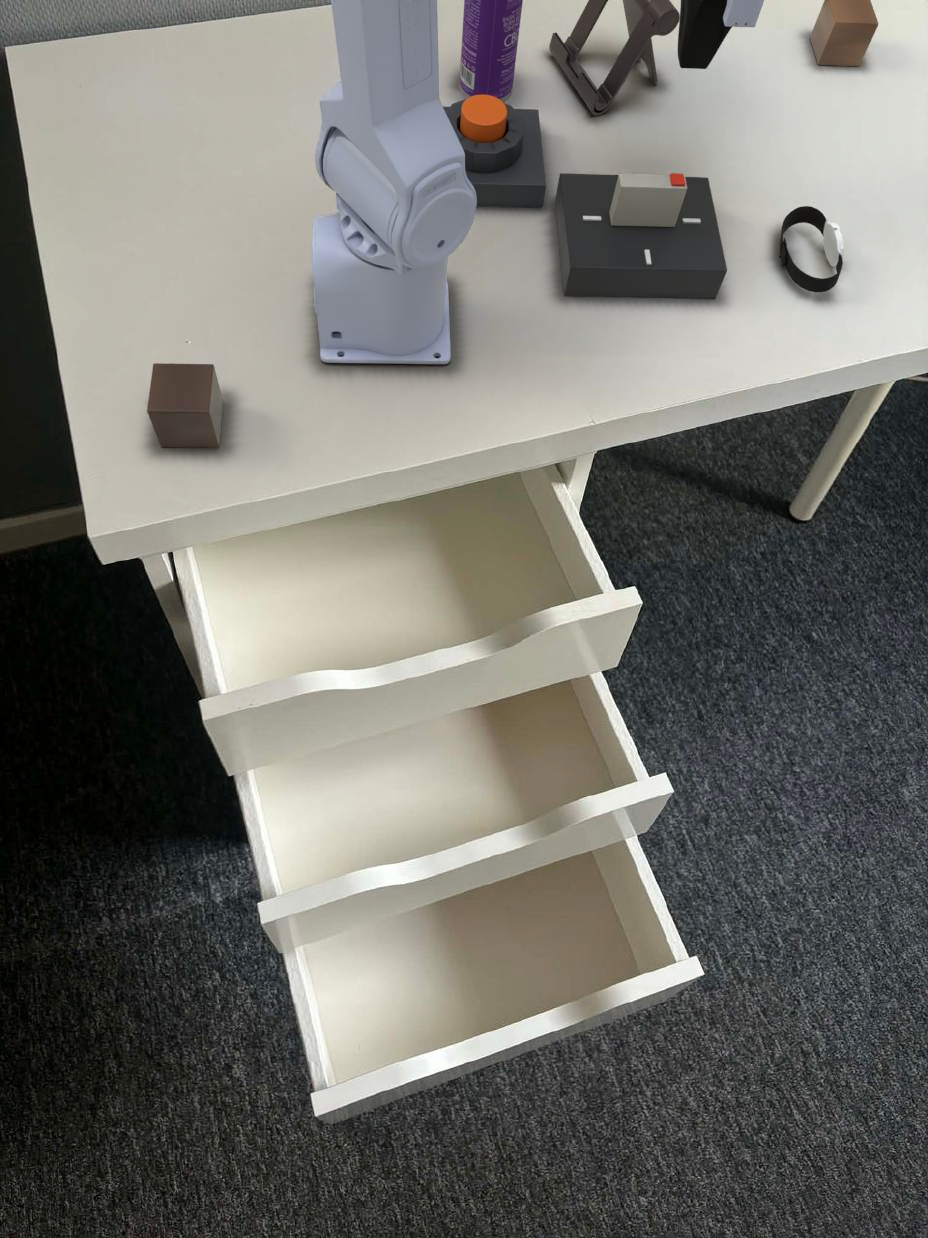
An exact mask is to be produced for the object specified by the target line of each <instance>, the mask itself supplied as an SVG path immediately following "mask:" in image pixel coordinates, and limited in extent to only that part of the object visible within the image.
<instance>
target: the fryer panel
mask: <svg viewBox="0 0 928 1238" xmlns="http://www.w3.org/2000/svg"><path fill="white" fill-rule="evenodd" d="M618 175H619V174H599V173H596V174H595V173H567V172H566V173H565V172H561V173H559V175H558V176H559V177H558V181H557V182H558V183H557V187H556V193H555V198H554V211H555V212H554V214H555V222H556V223H555V224H556V232H557V242H558V253H559V261H560V270H561V271H560V272H561V278H562V279H561V280H562V281H561V282H562V290H563V296H564V297H584V298H588V297H589V298H590V297H591V298H637V299H638V298H641V299H642V298H643V299H648V298H649V299H685V300H687V299H691V300H693V299H694V300H716V298H717V296H718V294H719V292H720V289H721V286H722V284H723V282H724V280H725V278H726V275H727V272H728V269H727V268H728V267H727V263H726V257H725V253H724V249H723V248H724V247H723V244H722V239H721V234H720V229H719V225H718V224H719V223H718V218H717V215H716V210H715V204H714V199H713V195H712V194H713V193H712V190H711V185H710V180H709V177H705V176H704V177H703V176H685V179H686V184H687V191H686V194H685V197H684V200H683V203H682V206H681V209H680V212H679V215H678V218H677V221H676V224H675V227H655V226H612V225H611V221H610V214H609V212H610V208H611V204H612V200H613V195H614V191H615V187H616V183H617V179H618Z"/></svg>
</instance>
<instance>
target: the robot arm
mask: <svg viewBox="0 0 928 1238" xmlns="http://www.w3.org/2000/svg"><path fill="white" fill-rule="evenodd" d="M764 2H765V0H680V8H679V9H680V11H679V15H680V19H679V22H678V34H677V59H678V64H679V67H680V68H681V69H695V70H706V69H707V68H708V67H709V66H710V64H711V63H712V61H713V59H714V57H715V56H716V54H717V52H718V51H719V49H720V48H721V46H722V44H723V42H724V41H725V39H726V37H727V35H728V34H729V32H730V31H731V30H732V29H733V27H734V28H756V25H757V23H758V20H759V17H760V14H761V11H762V8H763V6H764ZM330 3H331V11H332V18H333V19H332V20H333V27H334V34H335V43H336V50H337V51H336V52H337V58H338V66H339V73H340V81H339V82H337V83H336V84H334V85H333V86H332V87H331V88H330V89H329V90H328V91H327V92H326V93H325V94H324V95H323V96H322V97H321V98H320V100H319V108H320V115H321V117H320V119H321V124H320V132H319V135H318V139H317V142H316V147H315V153H314V158H315V159H314V164H315V170H316V172H317V175H318V177H319V178H320V180H321V181H322V182H323V184H325V186H327V187H328V188H329V189H331V190H332V191H333V192H335V199H336V200H335V202H336V209H337V212H334V213H329V214H326V215H318V216H313V220H312V233H311V250H312V251H311V252H312V253H311V258H312V259H311V260H312V279H313V309H314V313H315V314H316V319H317V329H318V340H319V348H320V349H319V356H320V357H319V358H320V360H321V361H322V362H324V363H328V364H329V363H332V364H335V363H336V364H394V365H395V364H397V365H398V364H401V365H402V364H403V365H404V364H405V365H446V364H449V363H450V362H451V359H452V357H451V356H452V354H451V353H452V352H451V351H452V349H451V327H450V325H451V324H450V323H451V322H450V304H449V303H450V302H449V301H450V300H449V299H450V297H449V283H448V281H447V276H448V260H449V256H451V255H452V254H453V253H454V252H455V251H456V250H457V249H458V248H459V247H460V245H462V243H463V242H464V240H465V239H466V238H467V236H468V234H469V232H470V230H471V227H472V225H473V223H474V219H475V216H476V213H477V207H478V206H477V196H476V192H475V189H474V187H473V185H472V184H471V182H470V181H469V180H468V178H467V176H466V171H465V153H464V150H463V148H462V146H461V144H460V141H459V139H458V137H457V135H456V133H455V131H454V129H453V127H452V125H451V123H450V121H449V119H448V117H447V115H446V113H445V111H444V108H443V104H442V102H441V99H440V71H439V69H440V68H439V26H438V25H439V24H438V23H439V21H438V0H330ZM437 357H438V358H437Z"/></svg>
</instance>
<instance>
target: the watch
mask: <svg viewBox="0 0 928 1238" xmlns="http://www.w3.org/2000/svg"><path fill="white" fill-rule="evenodd" d="M797 224H809V225H812V226H813V227H815V229H816V230H818V231H819V232H820V233H821V235H822V237H823V248H824V252H825V256H826V259H827V261H828V264H829V265H830V266H831V267H835V271H836V273H835V274H834V275H832V276H829V277H824V278H820V277H815V276H812V275H809V274H807V272H804V271H803V270H802V269H800V268H799V267H798V266H797V265H796V263H794V260H793V259H792V256H791V255H790V252H789V249H788V243H787V240H786V237H784V234H785V232H787V230H788V229H789V228H791V227H793V226H795V225H797ZM844 247H845V246H844V238H843V234H842V231H841V228H840V225H839V224H837V222H829V221H828V219H827V218H826V216H825V214H824V213H823V212H822V211H821V210H819V209H818V208H816V207H813V206H811V205H810V206H809V205H803V206H798V207H796V208H794V209H793V210H791V211H790V212H789V213H788V214H787V215H786V216H785V217H784V219H783V222H782V224H781V231H780V238H779V256H778V258H779V259H780V262H781V266H782V268H785V269H786V272H787V274H788V276H789V277H790V280H792V282H794V283H795V284H796V285H797V286H798V287H800V288H801V289H803V290H805V291H808V292H811V293H824V292H828V291H830V290H832V289H833V288H835V286H836V285H837V283H838V281H839V279H840V278H839V277H840V275H841V272H842V269H843V264H844V263H843V259H844V251H845V248H844Z"/></svg>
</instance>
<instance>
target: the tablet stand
mask: <svg viewBox="0 0 928 1238" xmlns="http://www.w3.org/2000/svg"><path fill="white" fill-rule="evenodd" d="M608 2H609V0H588V1H587V3H586V5H585V7H584V8H583V10H582V12H581V14H580V16H579V18H578V20H577V22H576V24H575V26H574V27H573V28H572V29H573V30H572V32H571V33H570V35H569V36H567V38H566V39H565V42H564V41H563V40H562V38H561V37H560V35H559V34H558V33H557V31H555V32H553V33H552V35H551V38H550V42H549V46H548V48H549V52H550V53H551V55H552V56H553V58H554V60H555V61H556V63H557V64H558V65H559V66H560V69H561V70H562V72H563V73H564V74H565V76H566V77H567V79H568V80H569V81H570V83H571V85H572V86H573V88H574V89H575V90H576V92H577V94H578V95H579V96H580V98H581V99H582V101H583V102H584V103H585V105H586V107H587V109H588V110H589V111H590V113H591V114H592V115H593V116H595V117H599V116H601V115H603V114H605V113H606V112H607V111H608V110H609V109H610V107H611V106H612V103H614V100H615V99H616V97H617V96H618V94H619V92H620V90H621V88H622V87H623V85H624V83H625V82H626V81H627V79H628V76H629V75H630V73H631V72H632V70H633V68H634V67H635V65H636V63H638V64H639V63H641V62H642V61H643V63H644V64H645V66H646V70H647V74H648V75H647V76H648V78H649V79H650V81H651V82H652V83H653V85H657V84H658V83H659V80H658V74H657V67H656V60H655V54H654V48H653V41H652V38H653V37H654V36H659V37H664V36H668V35H669V34H671V33H672V32H674V30H675V29H676V28H677V27H678V26H679V21H680V11H678V9H677V8H676V7H675V5H674V4H673V3H672V1H671V0H622V4H623V10H624V16H625V23H626V27H627V34H628V39H627V41H626V42H625V44H624V46H623V48H622V49H621V51H620V53H619V55H618V56H617V58H616V60H615V62H614V64H613V65H612V66H611V68H610V71H609V72H608V74H607V75H606V77H605V79H604V80H603V82H602V83H601V84H600V85H599V87H598V88H597V86H596V85H595V84H594V82H593V81H592V79H591V78H590V76H589V75H588V73H587V72H586V70H585V69H584V67H583V66H582V65H581V63H580V62H579V60H578V57H579V55H580V53H581V52H582V49H583V48H584V45H585V44H586V42H587V40H588V38H589V36H590V35H591V33H592V31H593V29H594V27H595V26H596V23H597V22H598V21H599V18H600V16H601V14H602V12H603V11H604V9H605V7H606V5H607V4H608Z"/></svg>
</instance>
